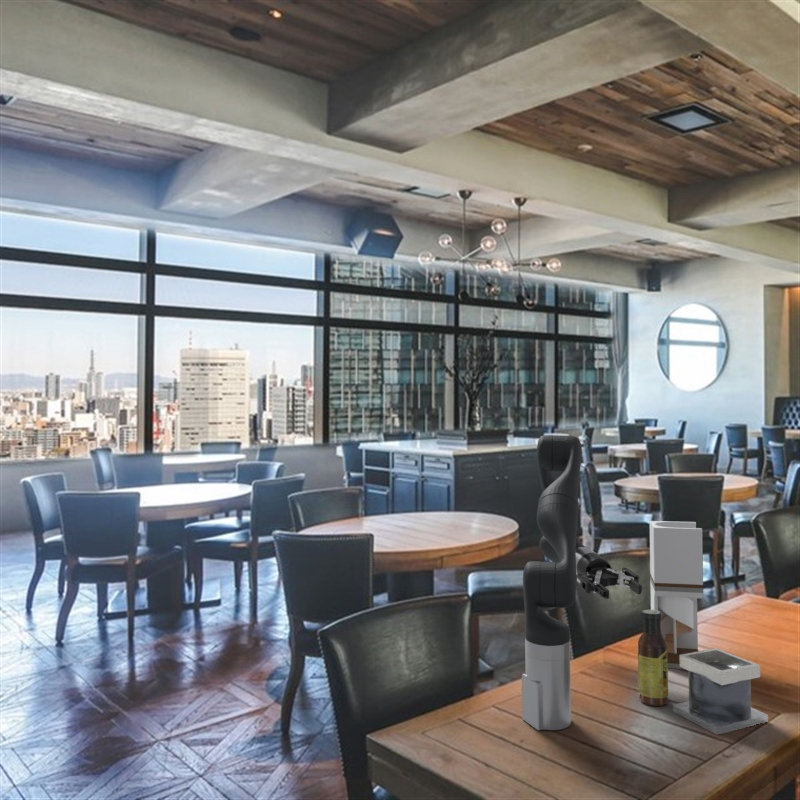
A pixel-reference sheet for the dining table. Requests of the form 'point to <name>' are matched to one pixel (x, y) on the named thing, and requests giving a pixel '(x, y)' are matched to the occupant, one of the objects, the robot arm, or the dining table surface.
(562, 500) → the robot arm
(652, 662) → the sauce bottle
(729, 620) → the dining table surface
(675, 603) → the white tower
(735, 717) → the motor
